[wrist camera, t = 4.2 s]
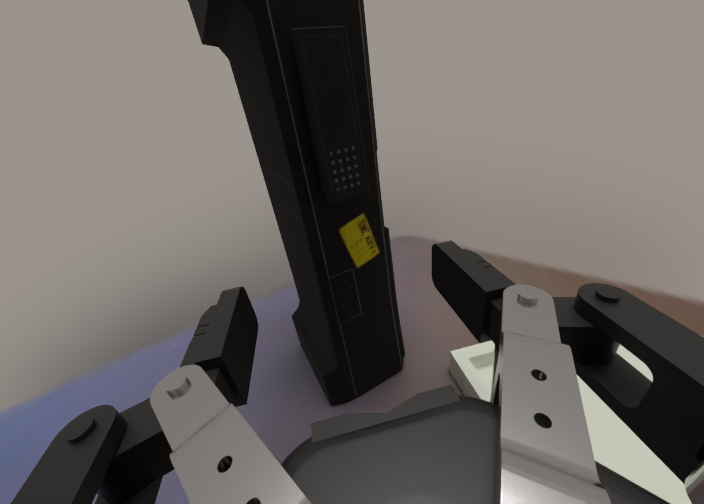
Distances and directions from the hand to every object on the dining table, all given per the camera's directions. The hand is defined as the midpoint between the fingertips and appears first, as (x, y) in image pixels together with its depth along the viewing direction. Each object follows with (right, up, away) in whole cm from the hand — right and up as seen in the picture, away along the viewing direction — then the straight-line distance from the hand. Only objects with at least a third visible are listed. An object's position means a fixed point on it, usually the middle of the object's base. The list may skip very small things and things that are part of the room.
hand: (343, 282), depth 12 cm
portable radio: (+1, -7, +9) cm, 11 cm away
